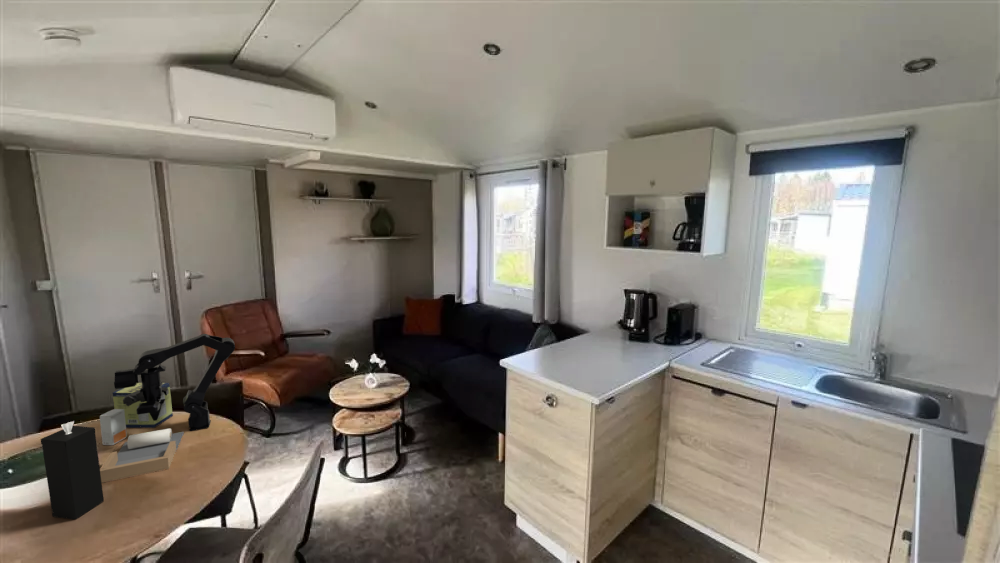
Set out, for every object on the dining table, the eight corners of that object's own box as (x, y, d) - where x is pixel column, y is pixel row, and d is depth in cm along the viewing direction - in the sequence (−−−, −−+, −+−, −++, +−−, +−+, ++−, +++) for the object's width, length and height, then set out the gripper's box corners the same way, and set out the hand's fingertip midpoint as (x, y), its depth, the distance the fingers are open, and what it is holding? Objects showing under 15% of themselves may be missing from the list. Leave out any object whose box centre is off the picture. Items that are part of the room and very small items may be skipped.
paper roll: (172, 436, 160) (171, 425, 159) (169, 444, 156) (168, 433, 154) (132, 444, 154) (130, 432, 153) (128, 452, 150) (126, 440, 149)
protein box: (136, 415, 177) (132, 382, 175) (173, 416, 178) (170, 382, 176) (115, 428, 167) (111, 392, 164) (155, 428, 168) (151, 392, 165)
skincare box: (113, 445, 154) (109, 416, 153) (102, 445, 155) (98, 415, 153) (128, 437, 160) (124, 408, 159) (117, 436, 161) (114, 408, 159)
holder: (183, 433, 164) (182, 423, 164) (168, 468, 142) (167, 457, 141) (125, 443, 156) (124, 433, 155) (99, 483, 133) (98, 471, 133)
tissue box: (104, 501, 125) (93, 417, 121) (75, 520, 117) (63, 430, 113) (81, 499, 126) (70, 415, 122) (51, 517, 118) (38, 428, 114)
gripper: (132, 377, 163) (136, 414, 165) (116, 396, 147) (121, 436, 149) (167, 373, 168) (170, 408, 171) (155, 391, 152) (159, 429, 154)
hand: (155, 420), depth 161 cm, fingers closed
